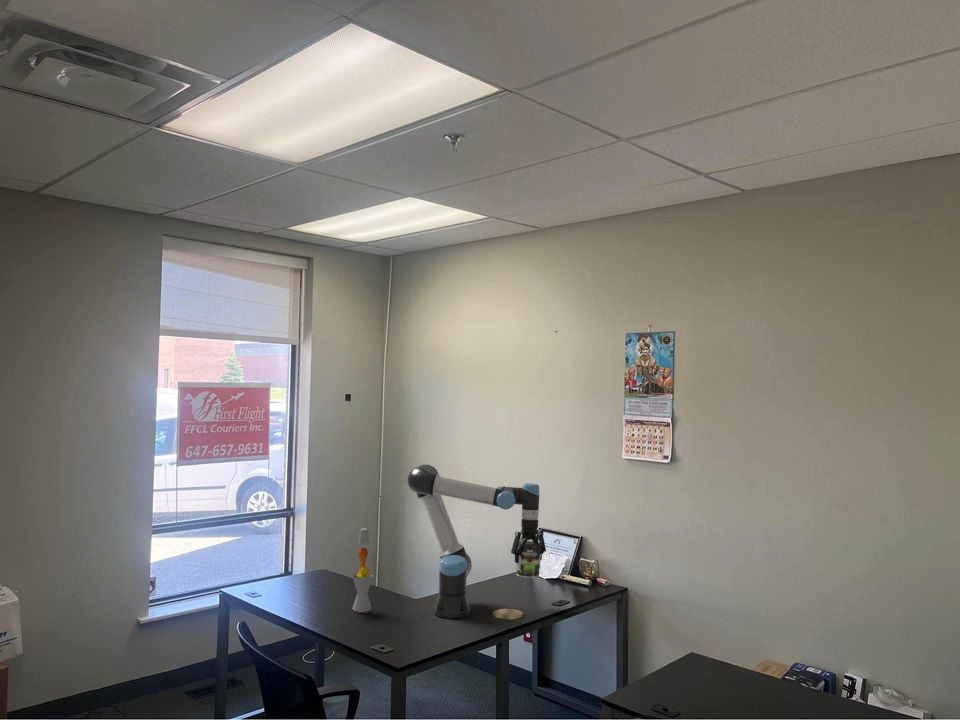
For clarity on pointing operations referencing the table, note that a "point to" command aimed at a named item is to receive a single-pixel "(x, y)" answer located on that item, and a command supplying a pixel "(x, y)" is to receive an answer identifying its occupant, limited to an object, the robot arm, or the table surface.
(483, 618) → the table surface
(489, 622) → the table surface
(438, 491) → the robot arm
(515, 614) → the cork mat
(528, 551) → the coffee can
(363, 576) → the lava lamp
